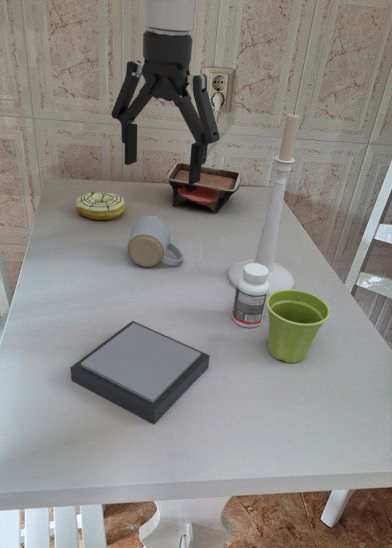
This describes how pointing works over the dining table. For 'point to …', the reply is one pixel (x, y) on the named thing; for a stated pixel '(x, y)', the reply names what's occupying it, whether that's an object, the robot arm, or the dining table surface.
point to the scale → (140, 370)
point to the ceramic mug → (152, 243)
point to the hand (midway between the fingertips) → (161, 172)
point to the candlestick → (273, 218)
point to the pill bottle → (251, 296)
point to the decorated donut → (100, 205)
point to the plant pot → (294, 323)
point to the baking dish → (203, 185)
